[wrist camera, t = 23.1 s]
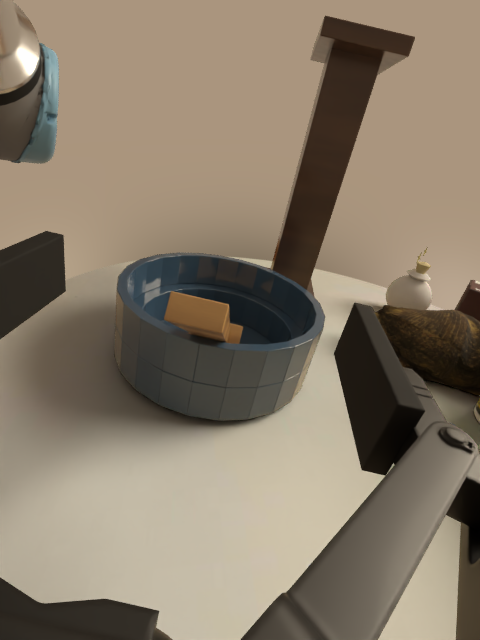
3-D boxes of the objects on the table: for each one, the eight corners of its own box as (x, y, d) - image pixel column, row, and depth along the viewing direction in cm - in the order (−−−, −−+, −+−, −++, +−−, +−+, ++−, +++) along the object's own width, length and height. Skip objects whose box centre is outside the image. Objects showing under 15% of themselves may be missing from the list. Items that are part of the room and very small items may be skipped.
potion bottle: (381, 316, 51) (411, 250, 46) (377, 297, 57) (403, 237, 52) (424, 329, 50) (459, 263, 45) (415, 308, 56) (445, 248, 51)
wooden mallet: (246, 339, 14) (257, 295, 14) (138, 313, 14) (150, 270, 14) (237, 347, 35) (241, 330, 35) (194, 337, 35) (198, 320, 35)
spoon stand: (313, 324, 44) (415, 36, 30) (251, 309, 44) (324, 15, 30) (307, 287, 55) (381, 61, 41) (257, 275, 55) (313, 45, 41)
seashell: (486, 358, 45) (526, 318, 40) (511, 418, 38) (562, 378, 33) (360, 322, 46) (384, 279, 41) (362, 374, 39) (391, 330, 34)
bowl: (80, 332, 33) (78, 262, 30) (220, 299, 45) (231, 247, 41) (194, 465, 23) (211, 382, 20) (336, 378, 35) (362, 317, 32)
